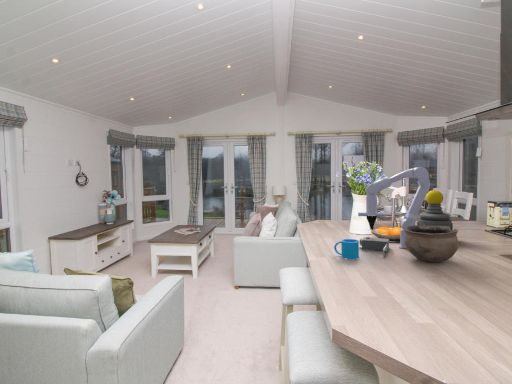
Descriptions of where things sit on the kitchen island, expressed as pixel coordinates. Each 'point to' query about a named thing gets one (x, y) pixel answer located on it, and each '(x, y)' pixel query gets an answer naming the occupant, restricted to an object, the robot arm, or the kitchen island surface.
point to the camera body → (374, 243)
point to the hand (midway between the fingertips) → (371, 229)
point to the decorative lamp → (434, 212)
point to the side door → (385, 250)
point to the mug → (349, 248)
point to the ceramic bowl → (431, 242)
